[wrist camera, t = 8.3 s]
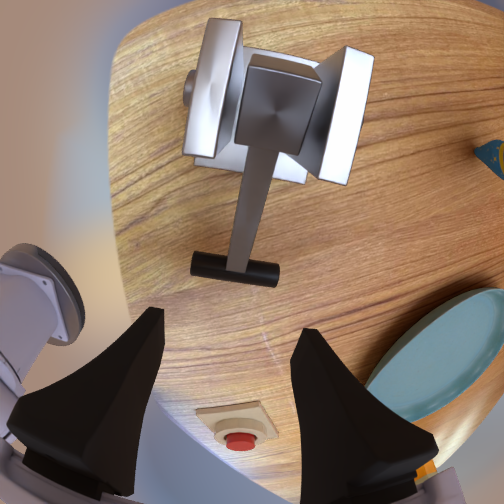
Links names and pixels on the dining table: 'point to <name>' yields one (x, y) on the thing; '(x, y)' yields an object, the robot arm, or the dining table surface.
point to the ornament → (492, 156)
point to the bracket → (229, 98)
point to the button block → (238, 421)
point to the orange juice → (425, 472)
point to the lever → (262, 159)
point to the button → (240, 441)
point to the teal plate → (441, 354)
